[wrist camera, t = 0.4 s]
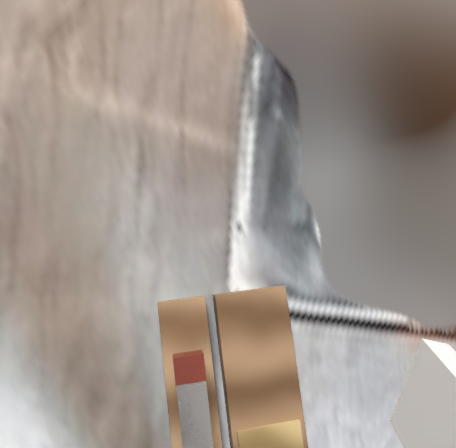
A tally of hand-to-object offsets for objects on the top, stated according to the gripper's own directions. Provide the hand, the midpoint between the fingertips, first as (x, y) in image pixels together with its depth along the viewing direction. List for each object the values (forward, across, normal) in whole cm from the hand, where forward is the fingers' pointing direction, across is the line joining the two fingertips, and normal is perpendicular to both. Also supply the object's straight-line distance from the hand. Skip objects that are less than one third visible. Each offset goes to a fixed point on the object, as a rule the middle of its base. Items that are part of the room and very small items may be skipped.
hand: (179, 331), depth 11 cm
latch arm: (+20, -3, +20) cm, 28 cm away
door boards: (+24, -6, +20) cm, 32 cm away
